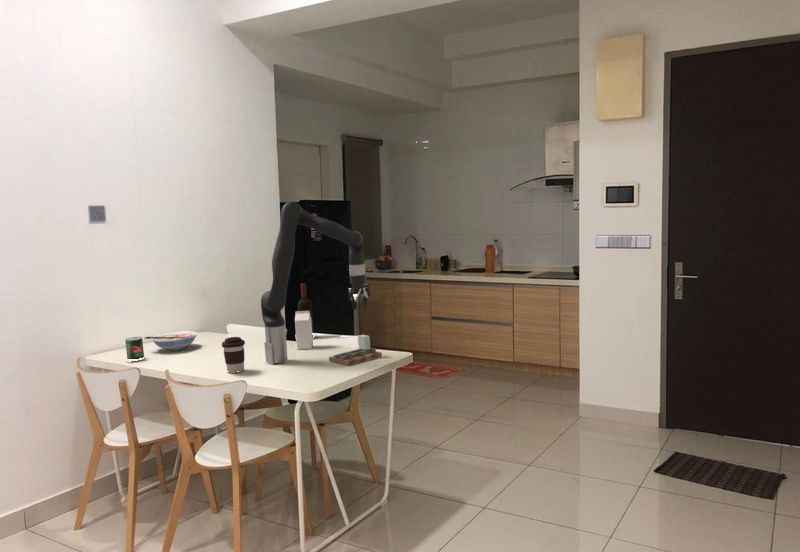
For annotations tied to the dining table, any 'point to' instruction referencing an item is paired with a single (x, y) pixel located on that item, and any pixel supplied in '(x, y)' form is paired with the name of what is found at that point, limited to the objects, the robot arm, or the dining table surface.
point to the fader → (363, 342)
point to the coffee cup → (234, 353)
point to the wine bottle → (305, 303)
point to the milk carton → (303, 330)
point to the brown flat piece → (355, 356)
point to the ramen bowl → (174, 340)
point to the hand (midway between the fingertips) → (360, 307)
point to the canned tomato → (134, 348)
